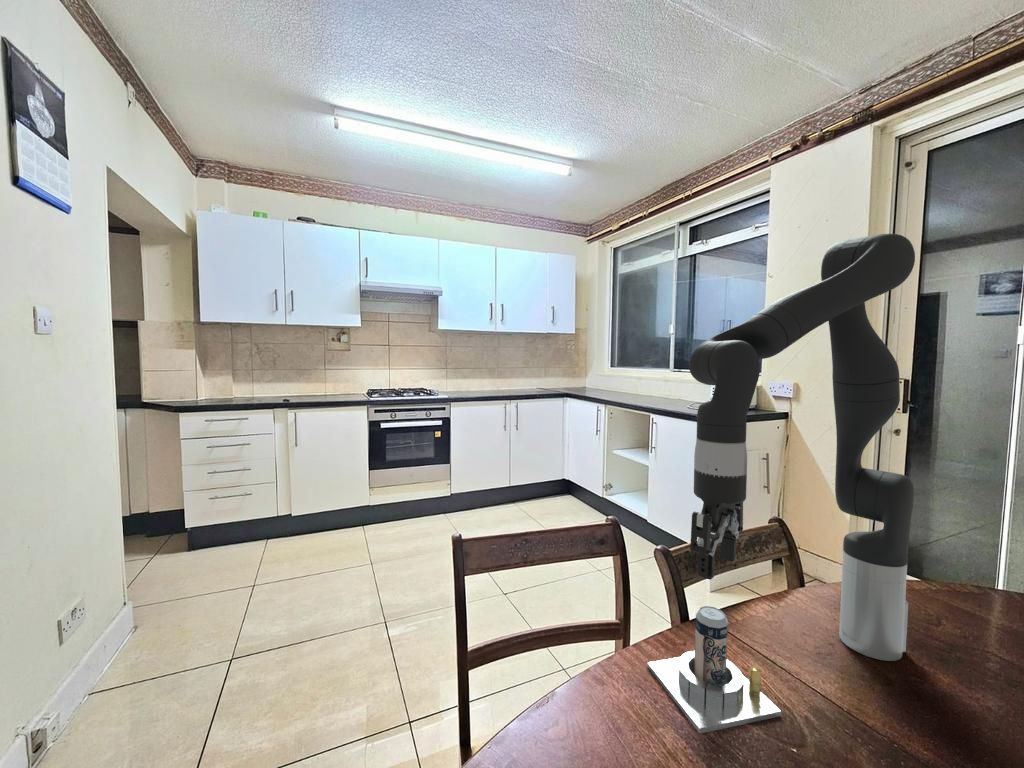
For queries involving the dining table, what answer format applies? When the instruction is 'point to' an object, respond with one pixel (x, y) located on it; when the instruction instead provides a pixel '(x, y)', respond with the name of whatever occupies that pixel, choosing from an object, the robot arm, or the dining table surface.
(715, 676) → the beer can
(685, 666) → the flange collar
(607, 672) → the dining table surface
